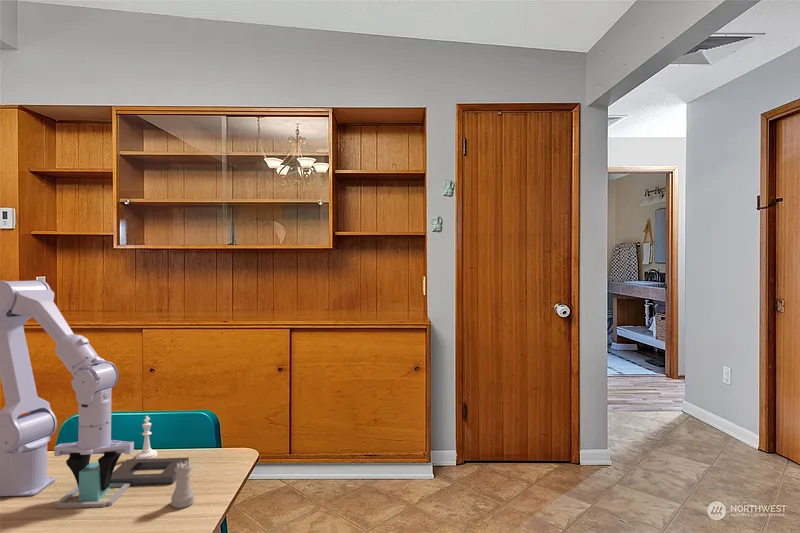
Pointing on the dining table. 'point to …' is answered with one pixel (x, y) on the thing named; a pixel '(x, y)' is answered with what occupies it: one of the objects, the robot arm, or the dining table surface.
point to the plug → (90, 483)
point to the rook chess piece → (182, 486)
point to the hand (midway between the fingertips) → (94, 488)
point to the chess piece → (146, 443)
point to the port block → (131, 465)
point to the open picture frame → (62, 501)
